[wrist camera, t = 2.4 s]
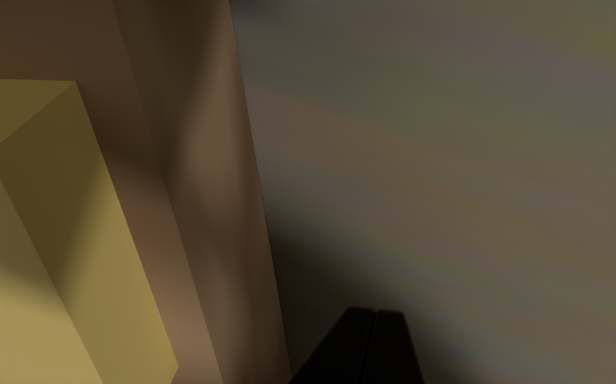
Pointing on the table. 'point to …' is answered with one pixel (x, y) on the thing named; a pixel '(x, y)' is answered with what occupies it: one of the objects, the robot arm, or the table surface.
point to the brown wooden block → (171, 165)
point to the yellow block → (68, 252)
